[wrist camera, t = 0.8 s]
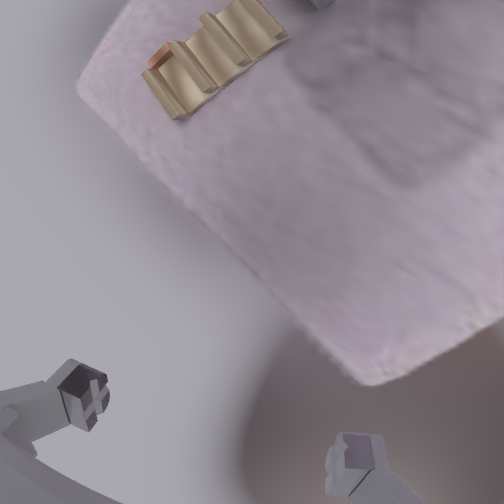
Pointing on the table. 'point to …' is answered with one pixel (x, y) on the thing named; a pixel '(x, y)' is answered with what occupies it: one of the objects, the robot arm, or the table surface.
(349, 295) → the table surface
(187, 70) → the rack
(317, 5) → the block
